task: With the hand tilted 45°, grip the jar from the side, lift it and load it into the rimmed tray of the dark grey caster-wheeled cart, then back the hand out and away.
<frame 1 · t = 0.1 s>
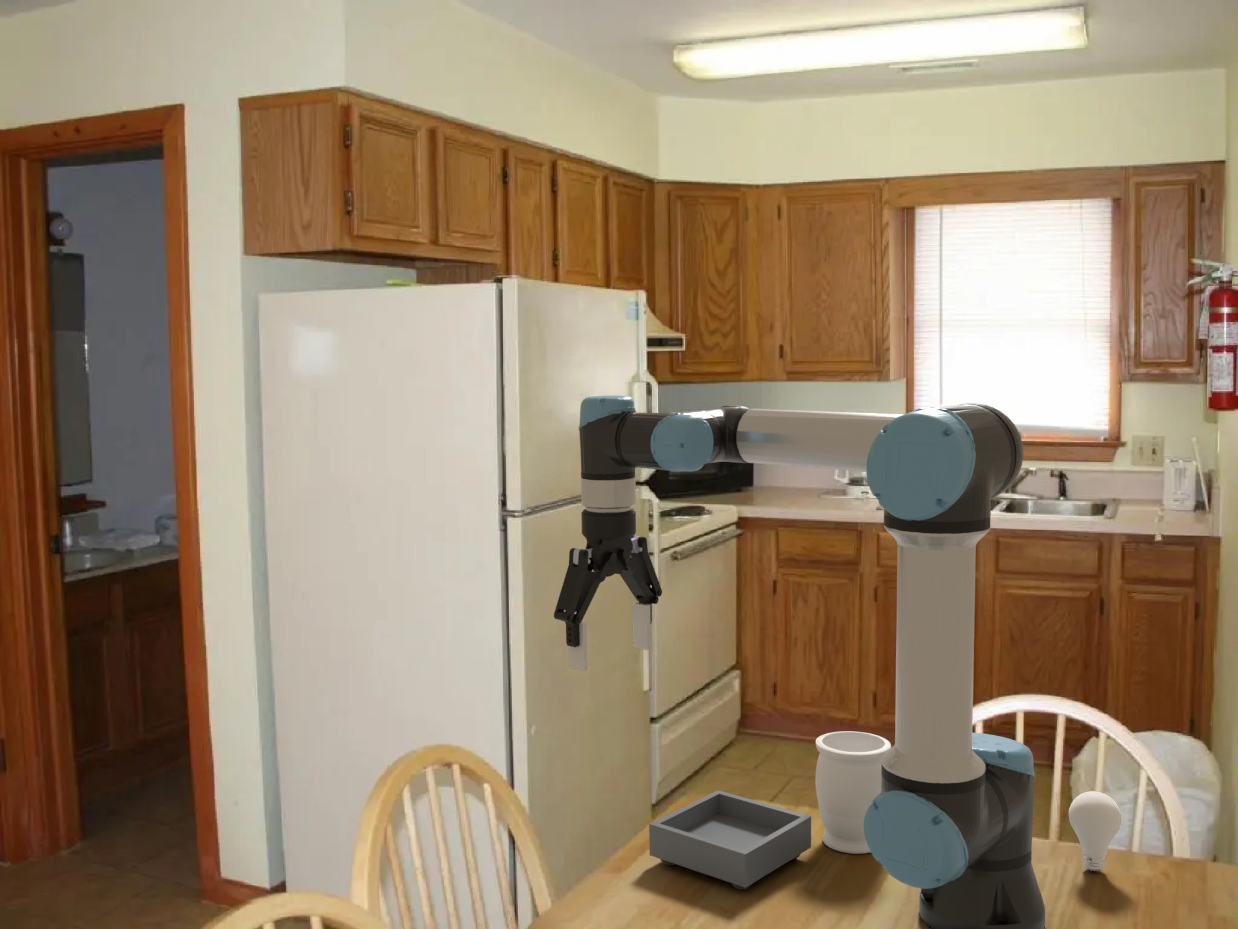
hand: (610, 658, 176), 28 cm above the table, tool pointing down, fingers open, 13 cm apart
cart: (730, 861, 175), on the table
light bulb: (1093, 872, 170), on the table
jar: (852, 844, 180), on the table
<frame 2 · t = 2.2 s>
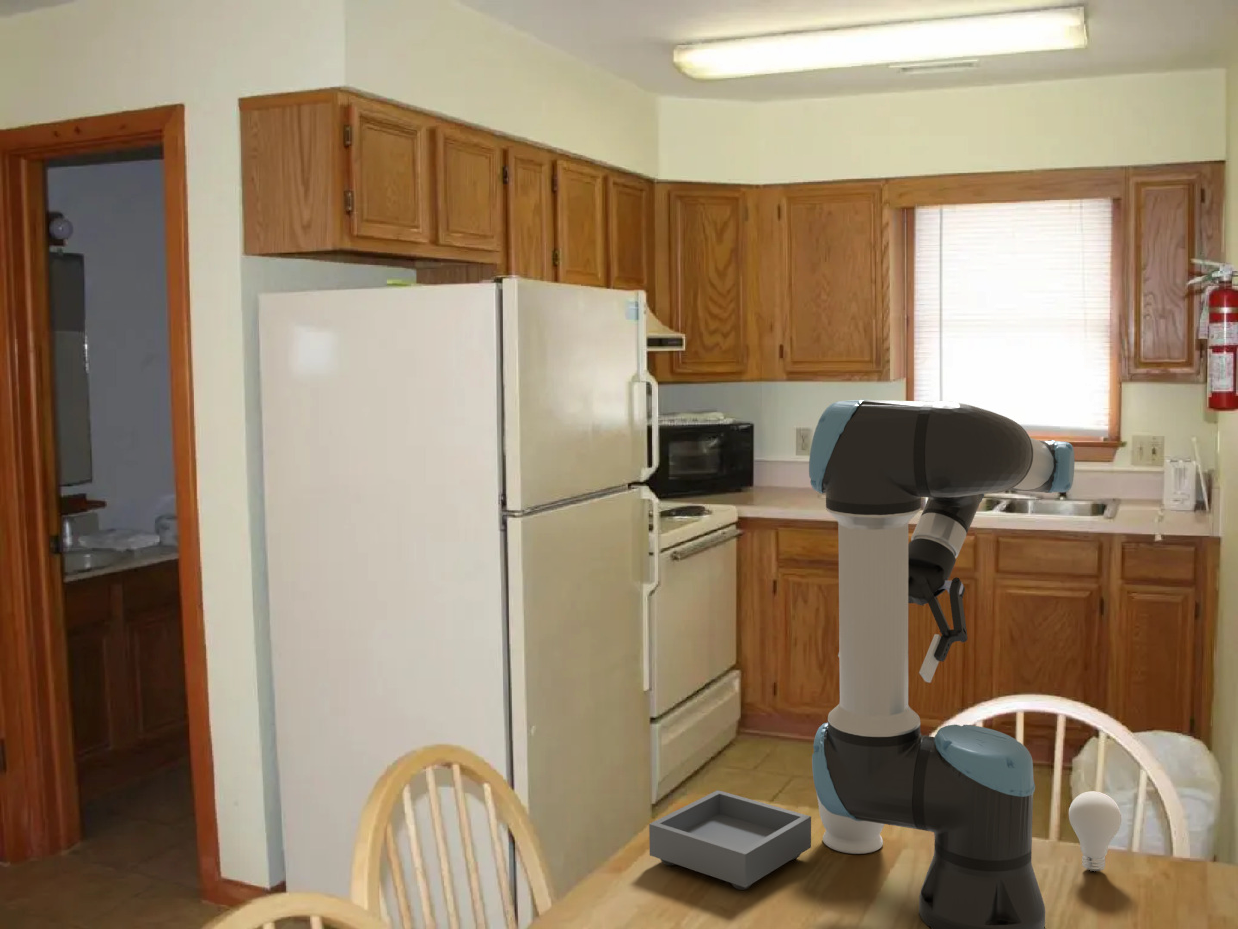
hand: (882, 669, 185), 23 cm above the table, tool tilted 40°, fingers open, 13 cm apart
nothing on the table moved.
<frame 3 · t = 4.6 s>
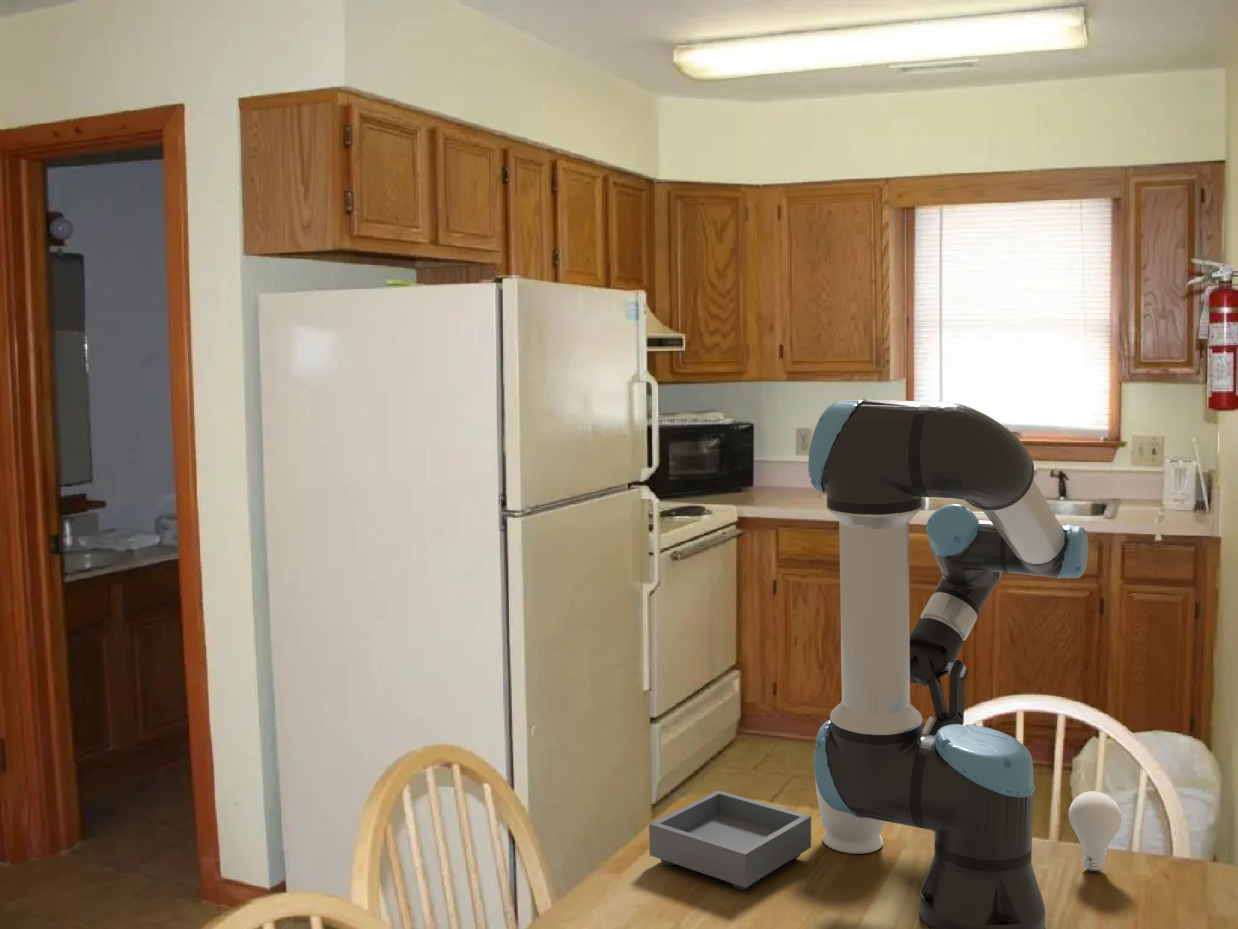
hand: (877, 748, 183), 12 cm above the table, tool tilted 45°, fingers open, 13 cm apart
nothing on the table moved.
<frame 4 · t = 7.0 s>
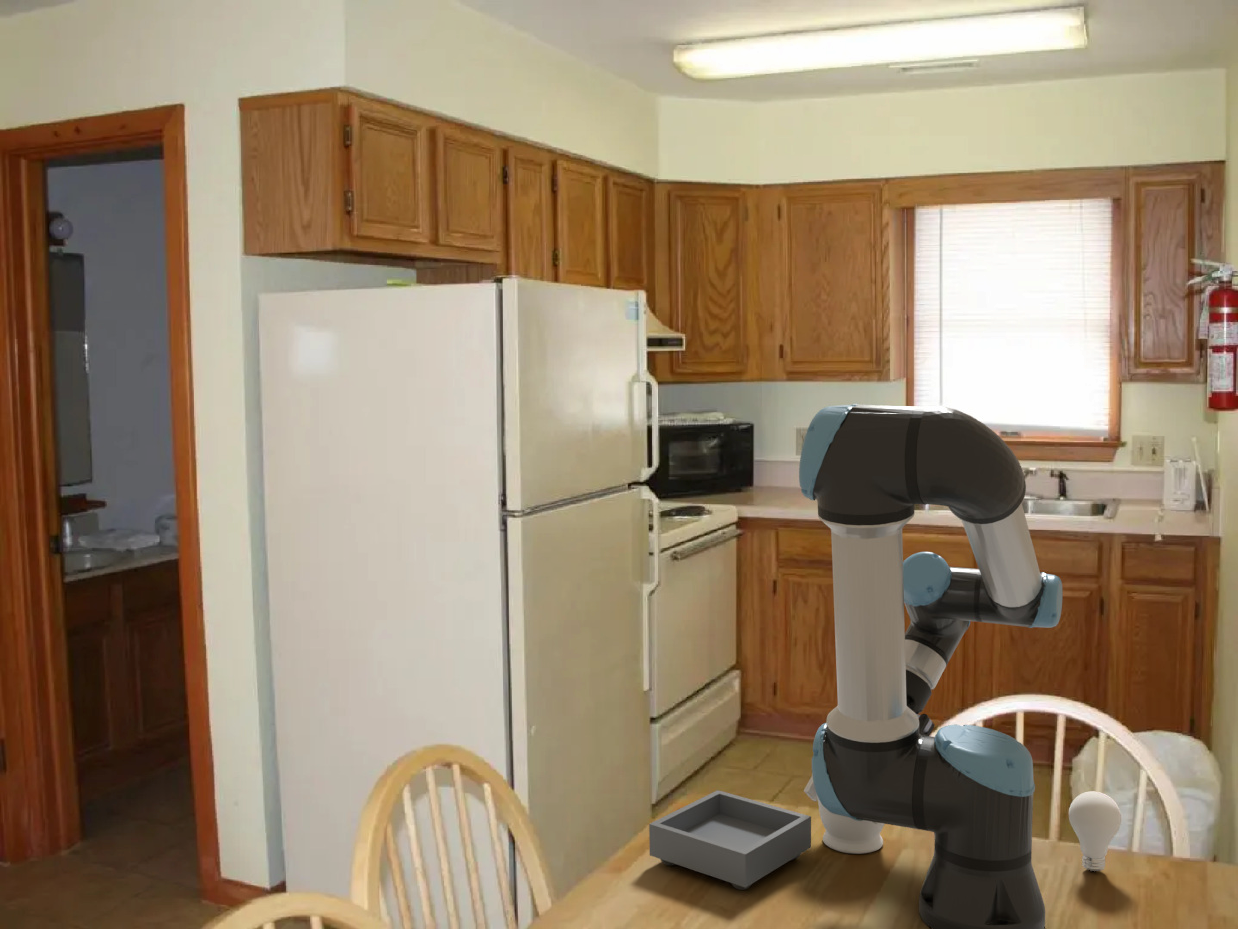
hand: (839, 807, 178), 6 cm above the table, tool tilted 45°, fingers closed on jar, 10 cm apart
jar: (852, 844, 180), on the table, touching gripper
everything else where it was.
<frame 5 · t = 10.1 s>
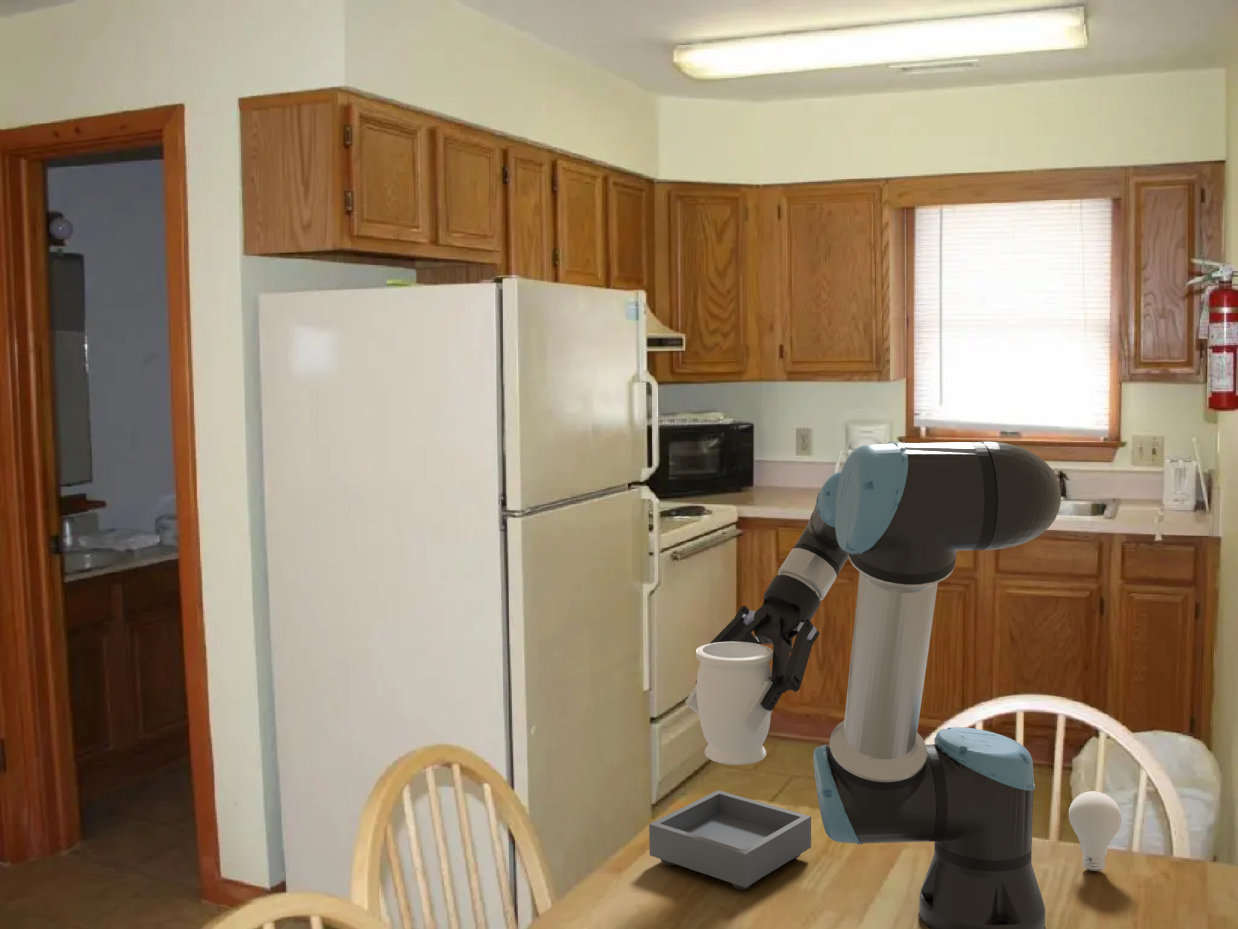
hand: (719, 717, 172), 21 cm above the table, tool tilted 45°, fingers closed on jar, 10 cm apart
jar: (735, 757, 174), point 15 cm above the table, touching gripper
everything else where it was.
when the fingers open (11 cm above the table, at t = 13.2 s): jar drops 1 cm, resting on cart.
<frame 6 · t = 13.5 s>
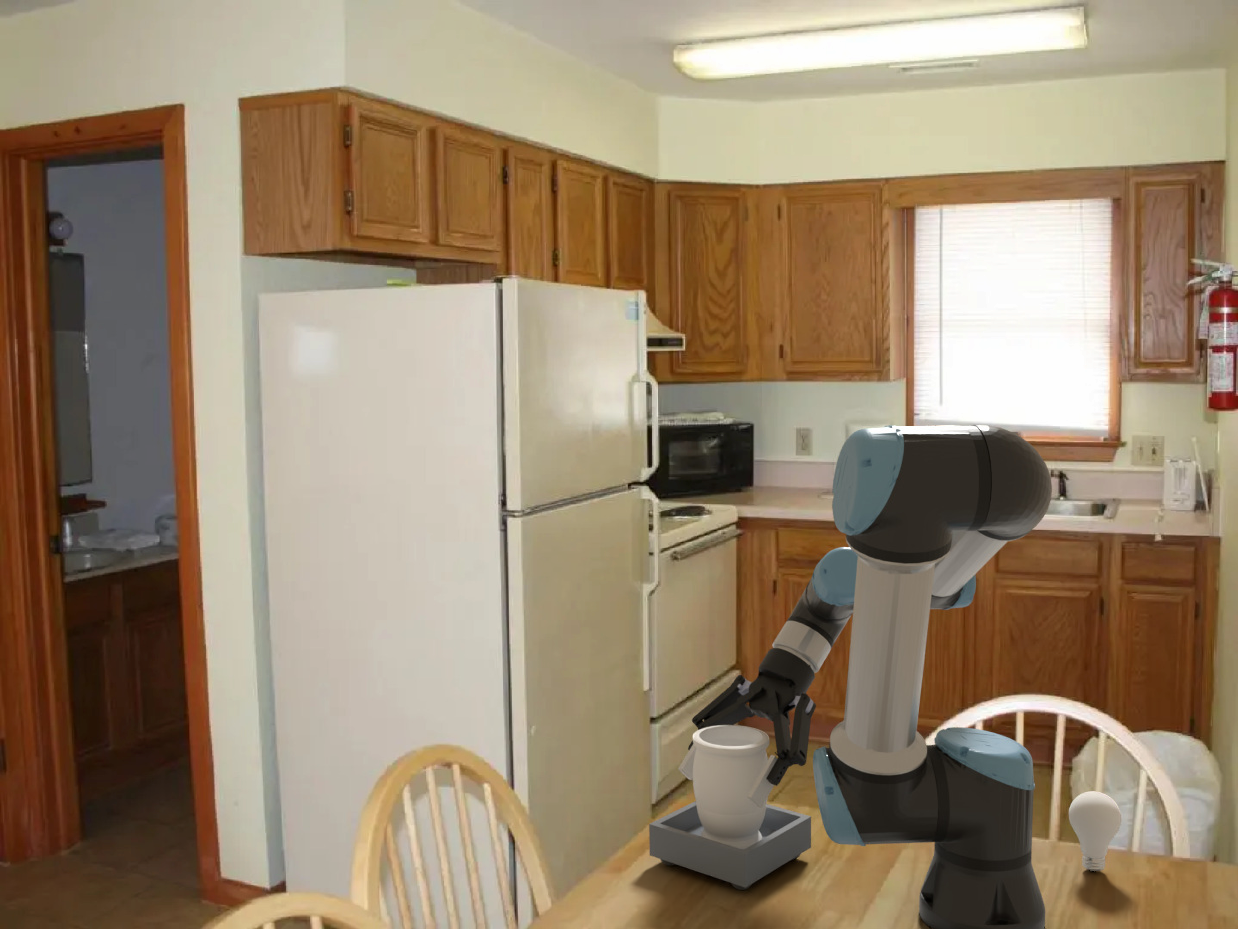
hand: (718, 788, 172), 11 cm above the table, tool tilted 45°, fingers open, 13 cm apart
cart: (730, 861, 175), on the table, touching jar
jar: (731, 842, 175), point 3 cm above the table, touching cart
everything else where it was.
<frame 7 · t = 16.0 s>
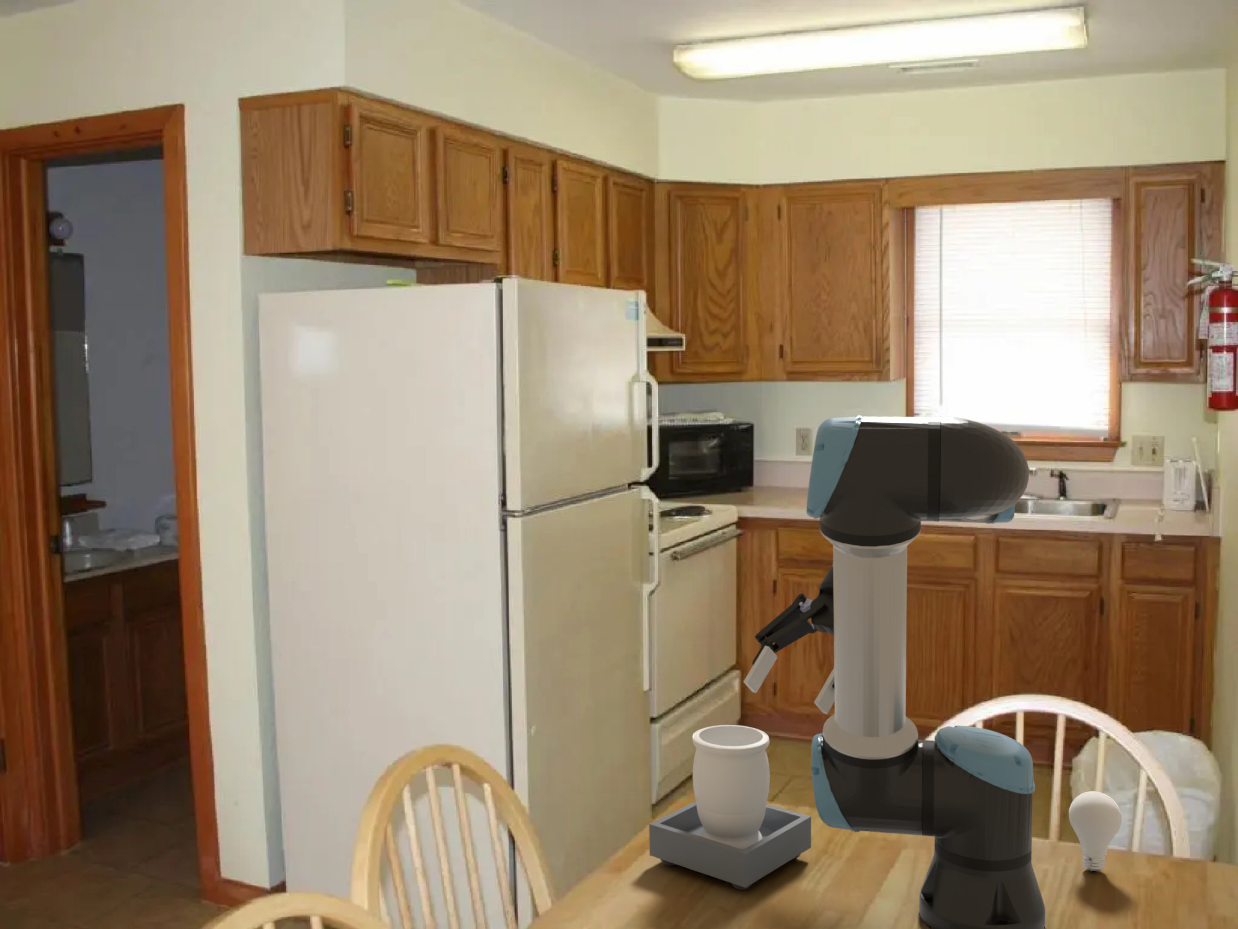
hand: (783, 698, 179), 21 cm above the table, tool tilted 45°, fingers open, 13 cm apart
nothing on the table moved.
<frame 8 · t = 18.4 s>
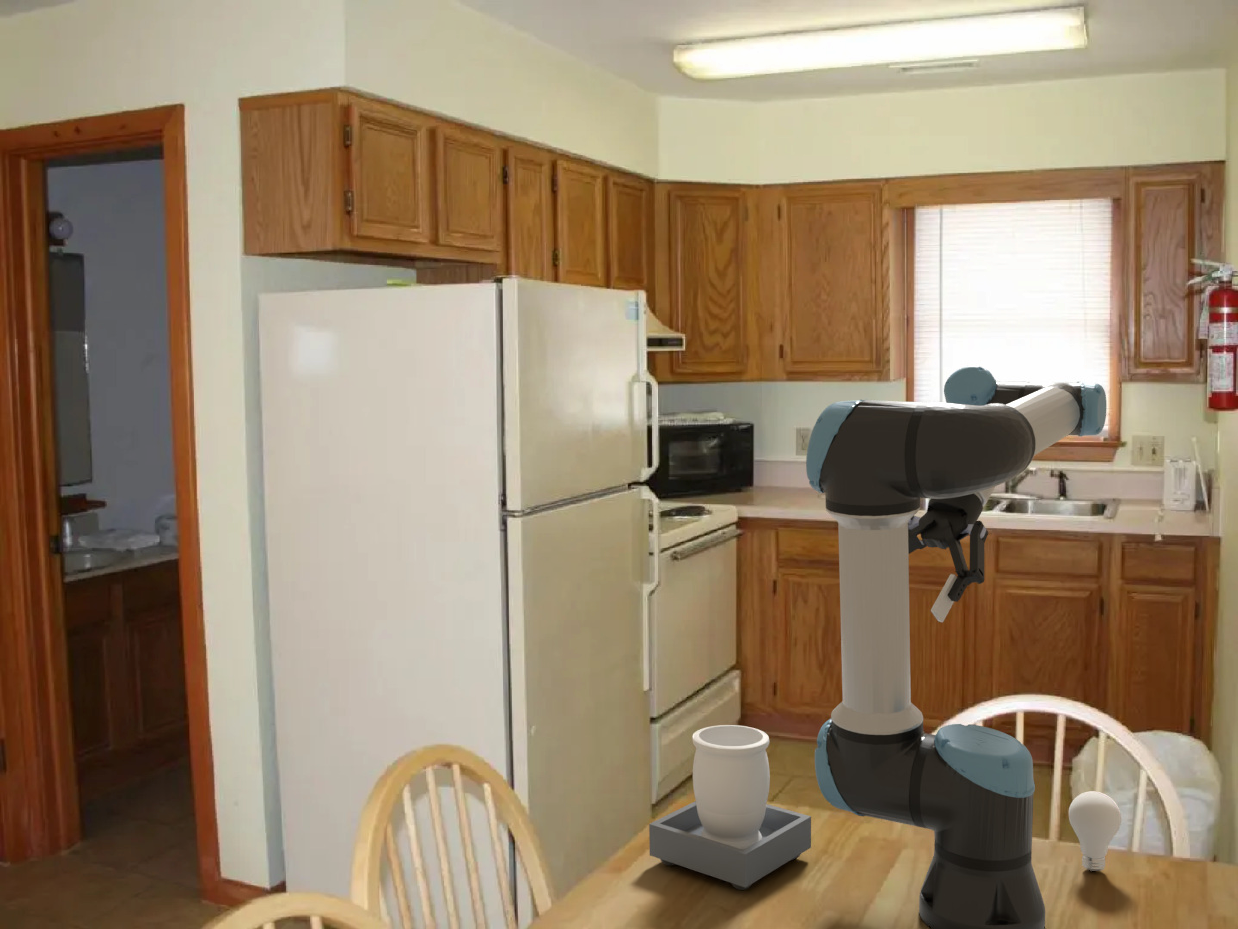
hand: (897, 608, 183), 33 cm above the table, tool tilted 45°, fingers open, 13 cm apart
nothing on the table moved.
at the end: jar inside the target area on the cart (0.2 cm from its centre), point 2.8 cm above the cart's base; jar tilted 0°; the gripper is holding nothing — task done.
